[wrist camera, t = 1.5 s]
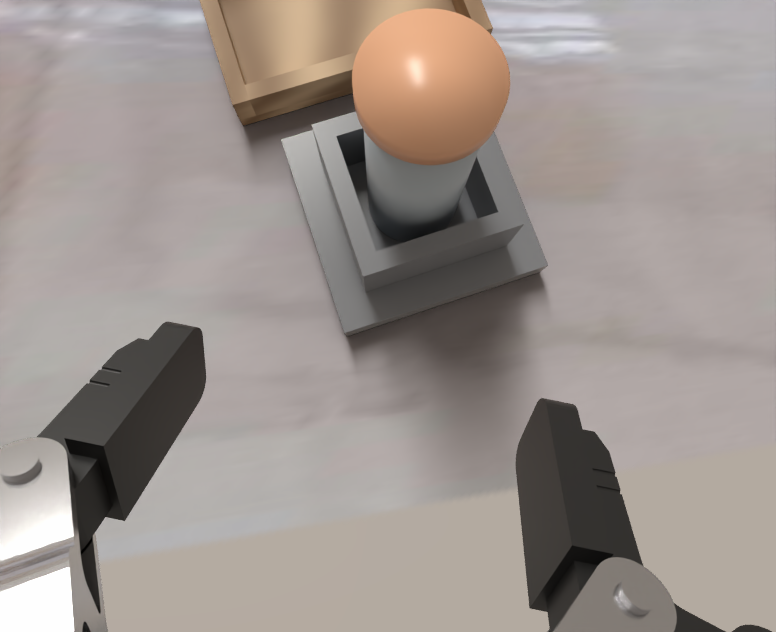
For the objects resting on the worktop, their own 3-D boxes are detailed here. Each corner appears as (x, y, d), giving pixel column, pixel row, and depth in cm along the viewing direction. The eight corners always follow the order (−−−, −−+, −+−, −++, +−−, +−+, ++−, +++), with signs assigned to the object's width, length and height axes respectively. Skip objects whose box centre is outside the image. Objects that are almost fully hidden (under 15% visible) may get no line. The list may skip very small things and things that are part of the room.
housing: (346, 336, 29) (339, 323, 24) (285, 152, 30) (267, 104, 26) (539, 271, 29) (571, 246, 24) (469, 96, 31) (485, 39, 26)
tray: (243, 125, 31) (232, 104, 29) (196, -22, 32) (183, -53, 30) (485, 53, 32) (492, 27, 30) (427, -86, 33) (430, -120, 31)
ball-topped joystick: (381, 261, 28) (381, 172, 17) (350, 172, 29) (331, 33, 18) (474, 230, 28) (533, 124, 17) (441, 143, 29) (477, -10, 18)
